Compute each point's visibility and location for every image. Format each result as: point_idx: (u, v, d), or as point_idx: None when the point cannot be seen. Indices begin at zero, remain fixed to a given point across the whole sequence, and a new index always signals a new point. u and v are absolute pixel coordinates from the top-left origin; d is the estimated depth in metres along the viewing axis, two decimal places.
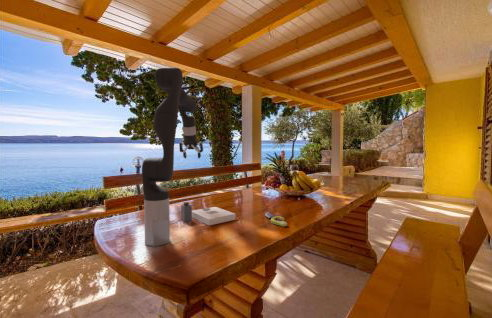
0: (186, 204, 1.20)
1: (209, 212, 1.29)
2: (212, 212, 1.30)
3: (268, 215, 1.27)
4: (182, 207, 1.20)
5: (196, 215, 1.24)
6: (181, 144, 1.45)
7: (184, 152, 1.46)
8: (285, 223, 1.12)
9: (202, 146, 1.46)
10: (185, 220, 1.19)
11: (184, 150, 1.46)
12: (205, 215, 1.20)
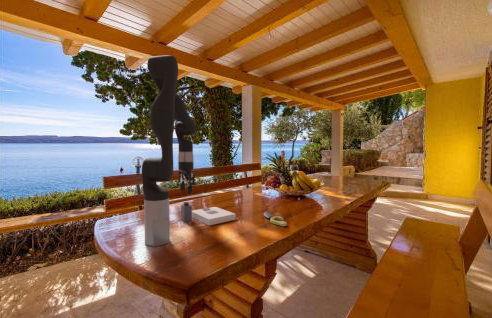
0: (186, 204, 1.20)
1: (209, 212, 1.29)
2: (212, 212, 1.30)
3: (267, 215, 1.27)
4: (182, 207, 1.20)
5: (196, 215, 1.24)
6: (180, 173, 1.25)
7: (180, 183, 1.23)
8: (285, 223, 1.12)
9: (192, 178, 1.16)
10: (185, 220, 1.19)
11: None
12: (205, 215, 1.20)
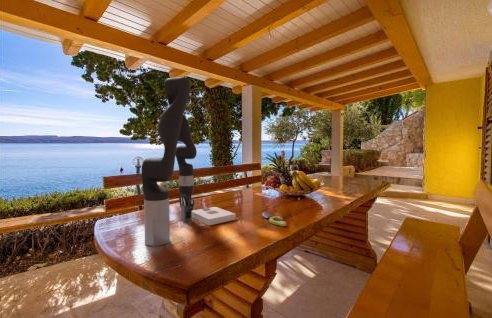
0: None
1: (209, 212, 1.29)
2: (212, 212, 1.30)
3: (265, 215, 1.27)
4: (182, 207, 1.20)
5: (196, 215, 1.24)
6: (180, 198, 1.25)
7: None
8: (284, 223, 1.13)
9: (192, 205, 1.17)
10: (185, 220, 1.19)
11: None
12: (205, 215, 1.20)
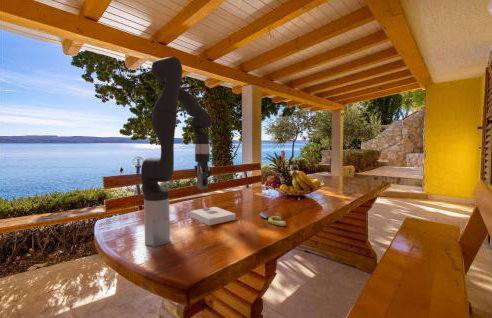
0: None
1: (209, 212, 1.29)
2: (212, 212, 1.30)
3: (264, 215, 1.27)
4: (198, 175, 1.23)
5: (196, 215, 1.24)
6: (196, 167, 1.28)
7: None
8: (284, 222, 1.13)
9: (208, 172, 1.20)
10: (202, 187, 1.22)
11: None
12: (205, 215, 1.20)
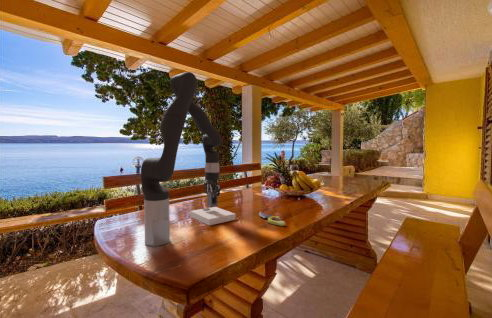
0: None
1: (209, 212, 1.29)
2: (212, 212, 1.30)
3: (263, 215, 1.27)
4: (208, 193, 1.25)
5: (196, 215, 1.24)
6: (206, 184, 1.30)
7: None
8: (284, 222, 1.13)
9: (218, 191, 1.22)
10: (211, 205, 1.24)
11: None
12: (205, 215, 1.20)
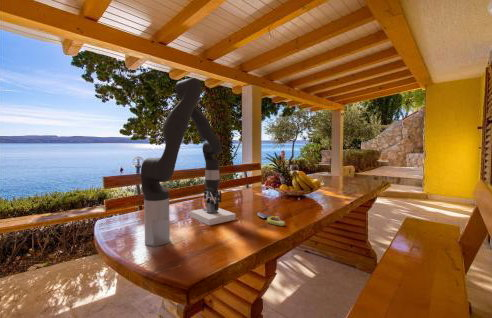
0: (212, 202, 1.25)
1: None
2: None
3: (262, 215, 1.26)
4: (208, 205, 1.25)
5: (196, 215, 1.24)
6: (205, 190, 1.30)
7: (206, 200, 1.29)
8: (283, 222, 1.13)
9: (219, 196, 1.21)
10: None
11: (206, 197, 1.28)
12: (205, 215, 1.20)
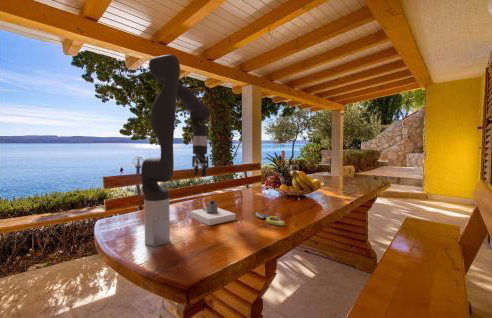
0: (212, 202, 1.25)
1: None
2: None
3: (260, 215, 1.26)
4: (208, 205, 1.25)
5: (196, 215, 1.24)
6: (194, 158, 1.28)
7: (194, 167, 1.27)
8: (283, 222, 1.14)
9: (206, 161, 1.19)
10: None
11: (194, 165, 1.27)
12: (205, 215, 1.20)
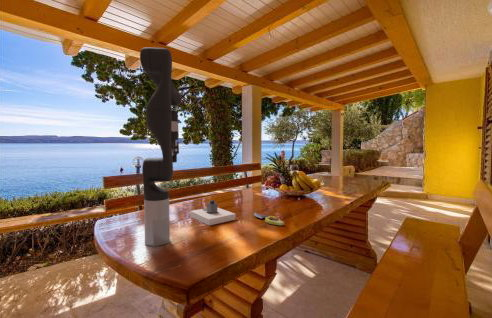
0: (212, 202, 1.25)
1: None
2: None
3: (259, 215, 1.26)
4: (208, 205, 1.25)
5: (196, 215, 1.24)
6: None
7: None
8: (282, 222, 1.14)
9: (177, 147, 1.17)
10: None
11: None
12: (205, 215, 1.20)
